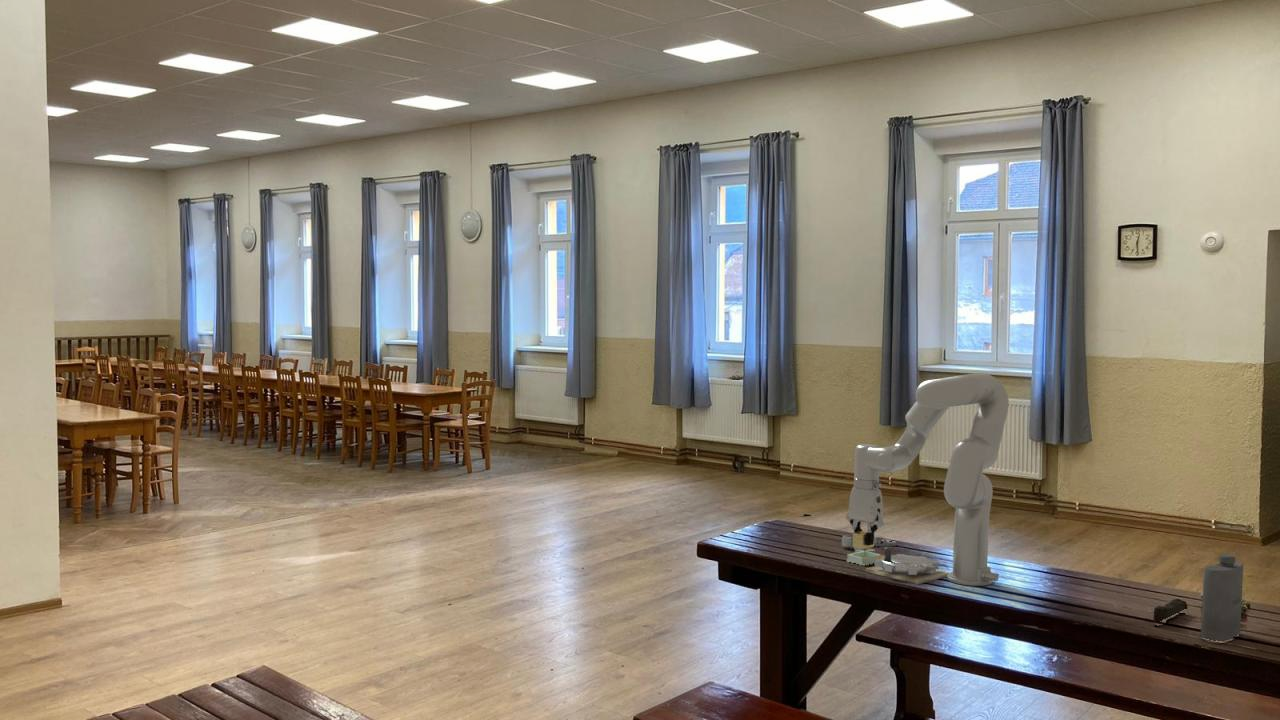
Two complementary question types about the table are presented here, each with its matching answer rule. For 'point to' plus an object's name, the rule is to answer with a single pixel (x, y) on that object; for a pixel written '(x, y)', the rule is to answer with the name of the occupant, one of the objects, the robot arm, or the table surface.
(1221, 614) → the flask
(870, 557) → the seat
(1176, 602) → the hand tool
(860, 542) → the yellow block
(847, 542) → the pulley system
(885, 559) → the sprocket
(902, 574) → the bearing plate
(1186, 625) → the table surface
